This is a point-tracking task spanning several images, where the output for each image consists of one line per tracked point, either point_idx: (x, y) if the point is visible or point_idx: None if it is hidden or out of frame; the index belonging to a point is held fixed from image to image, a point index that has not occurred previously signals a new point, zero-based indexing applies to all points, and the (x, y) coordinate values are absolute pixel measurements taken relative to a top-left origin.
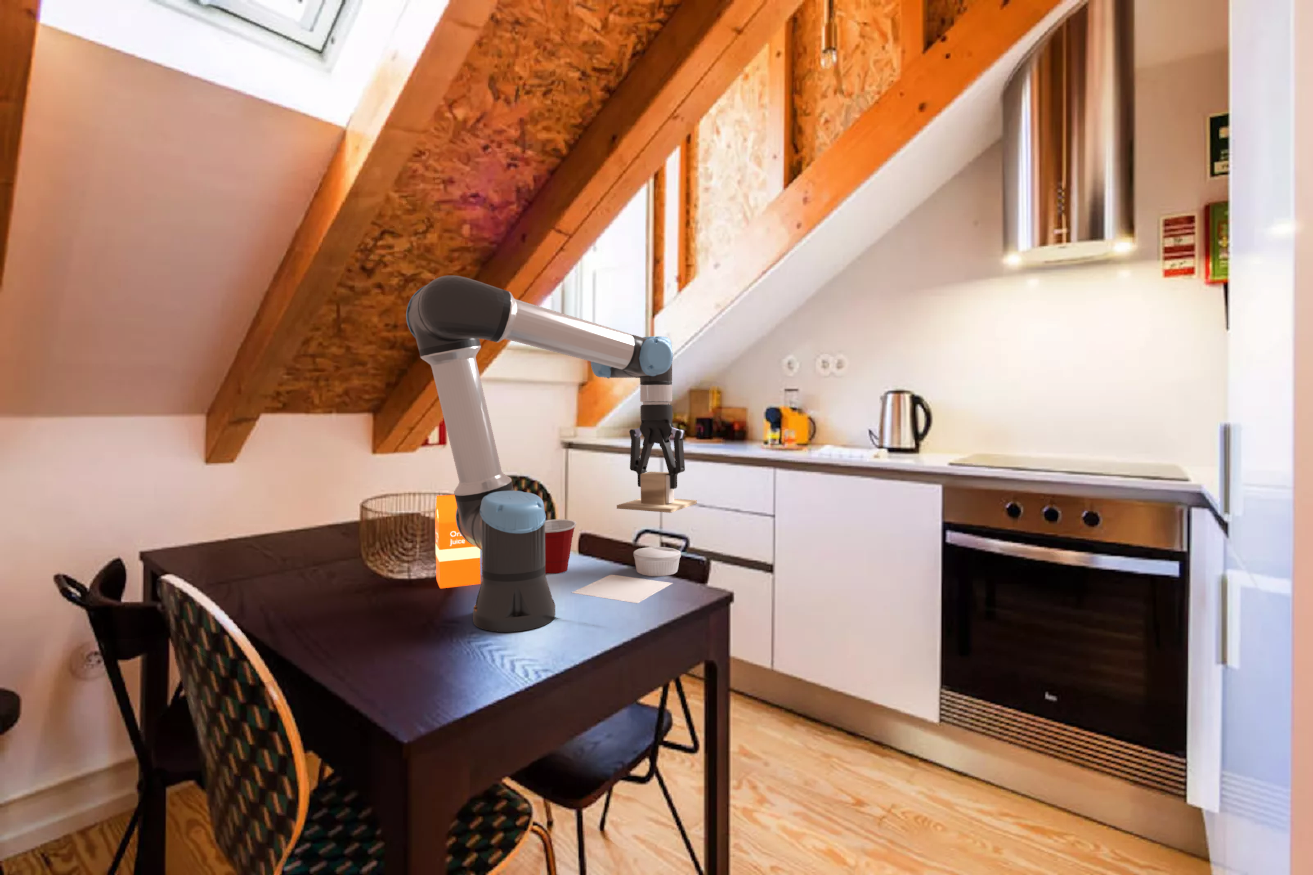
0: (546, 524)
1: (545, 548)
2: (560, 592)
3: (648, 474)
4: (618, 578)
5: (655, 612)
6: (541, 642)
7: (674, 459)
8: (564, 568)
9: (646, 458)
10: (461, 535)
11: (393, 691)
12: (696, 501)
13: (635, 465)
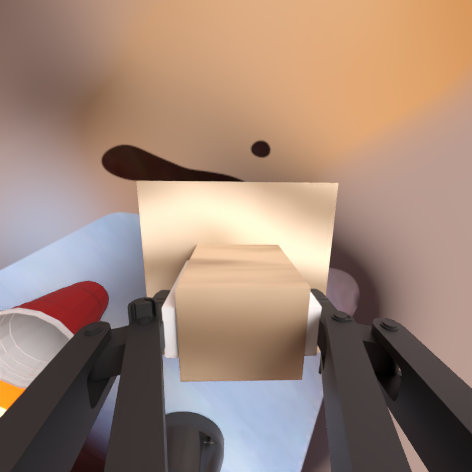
0: None
1: None
2: (164, 363)
3: (221, 378)
4: None
5: (304, 372)
6: (246, 469)
7: (373, 370)
8: (105, 304)
9: (164, 412)
10: None
11: None
12: (336, 185)
13: (96, 366)
